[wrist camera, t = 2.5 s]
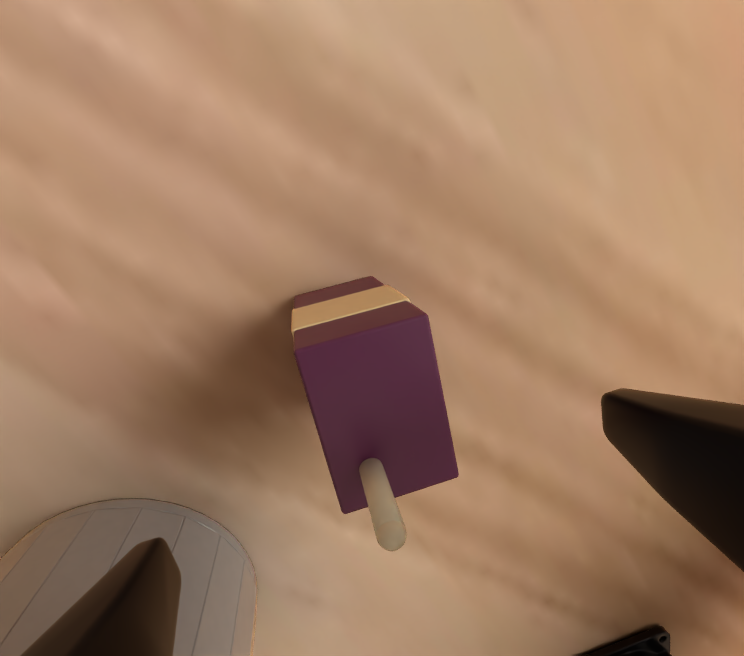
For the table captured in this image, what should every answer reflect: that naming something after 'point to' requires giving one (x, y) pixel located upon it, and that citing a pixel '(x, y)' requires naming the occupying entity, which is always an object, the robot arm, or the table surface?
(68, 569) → the steel cup
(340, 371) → the juice carton
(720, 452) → the robot arm
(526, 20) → the table surface
